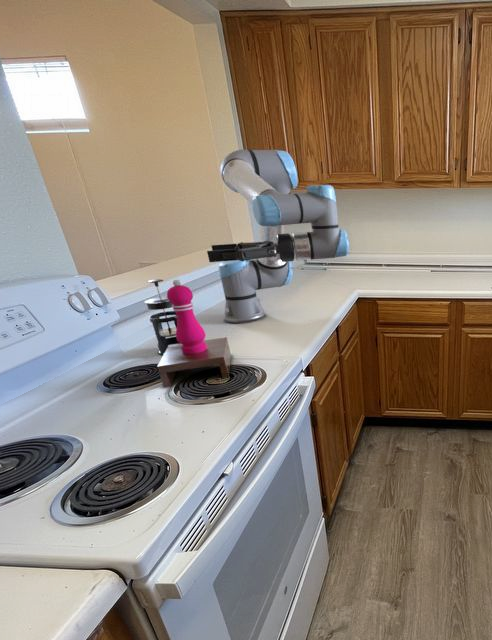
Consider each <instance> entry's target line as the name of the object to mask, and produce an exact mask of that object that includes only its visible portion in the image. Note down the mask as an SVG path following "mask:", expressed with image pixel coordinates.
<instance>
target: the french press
mask: <svg viewBox="0 0 492 640" xmlns="http://www.w3.org/2000/svg"><path fill="white" fill-rule="evenodd" d="M162 282H164V279H160V278H156V279H151V280H148V281H147V283H148V284H153V285H154V286H155V288H156V290H157V293H158V297H153V298H149V299H146V300H144V304H146V306H147V309H148V310H149V311H150V310H153V311H156V310H157V311H158V310H162V311H160V312H157V313H154V314H152V315H149V318H148V319H149V321H150V323H151V324H152V327H153V330H154V334H155V337H156V340H157V342H156V343H157V347H158V350H159V351H158V353H159V355H161V356H163V355H164V353H165V351H166V349H167V347H168V345H173V344H181V343H179V342H178V341H177V338H176V329H177V314H176V312H175V311H174V310H171V311H170V310H169V311H166V309H171V308H173V307H172V305H173V303H171V302H170V301H169V300H168V297H167V295H166V296H161V293H160V292H161V291H160V288H159V283H162ZM167 316H168V317H167ZM169 316H170V317H169ZM161 317H163V318H161ZM170 322H174V325H175V327H170ZM162 323H163V324H164V323H166V324H167V328H164V327H163V324H162Z"/></svg>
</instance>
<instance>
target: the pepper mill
mask: <svg viewBox="0 0 492 640" xmlns="http://www.w3.org/2000/svg"><path fill="white" fill-rule="evenodd" d="M172 285H173V286H171V287H169V289H168V290H167V292H166V296H167V297H168V300H169V301H170V302H171V303H173V305H172V307H171V308H172V311H175V312H176V314H177V329H176V336H175V337H176V338H177V341H178V342H179V343H181V344H182V346H181V349H182V352H183V353H184V354H197V353H201V352H203V351H205V350H206V349H207V346H206V343H205V342H203V340H206V332H205V330H204V327H203V326H202V325H201V324H200V322H199V321H198V320H197V318H196V316H195V313H194V307H195V306H194V305H193V304H194V303H193V302H192V300H193V298H194V293H193V292H192V290H191V288H189V287H188V286H186V285H182V282H181V281H180V280H179V279H174V280H173V281H172Z"/></svg>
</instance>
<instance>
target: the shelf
mask: <svg viewBox="0 0 492 640" xmlns="http://www.w3.org/2000/svg"><path fill="white" fill-rule="evenodd" d="M203 342H205V343H206V346H207V349H206V350H205V351H203V352H201V353H197V354H184V353H183V352H182V349H181V346H182V344H173V345H168V347H167V349H166V351H165V353H164V355H162V357H161V359H160V360H159V362H158V364H157V366H156V368H157V371H158V374H159V377H160V380H161V382H162V387H163V388H168V387H171V386H172V383H173V381H174V378H175V376H176V373H177V372H179V371H185V370H193V369H199V368H205V367H211V366H212V367H213V366H217V365H218V366H219V369H220V374H221V378H222V379H225V378H229V376H230V368H231V359H232V353H231V349H230V345H229V341H228V337H220V338H219V337H218V338H211V339H204V340H203ZM228 366H229V368H228ZM227 373H228V374H227Z"/></svg>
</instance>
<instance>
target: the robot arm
mask: <svg viewBox="0 0 492 640" xmlns="http://www.w3.org/2000/svg"><path fill="white" fill-rule="evenodd" d="M219 170H220V176H221V180H222V181H223V183H224V184H225V185H226V187H228V189H230V190H231V191H233V192H234V193H238V194H240V195H241V196H242V197H243V198H244V199H245V200H246V201H247V202H249V204H250V205H252V206H251V207H252V212H253V216H254V218H255V221H256V223H257V224H258V225H259V231H260V232H259V233H260V234H259V235H260V237H259V238H260V241H255V242H254V241H253V242H252V241H251V242H249V241H248V242H243V241H241V242H238V243H226V244H225V243H224V244H211V245H210V247H211V250H207V251H206V253H207V257H208V262H209V263H219V265H218V271H219V278H220V281H221V286H222V291H223V294H224V298H225V306H224V314H223V315H224V317H223V318H224V320H225V322H226V323H230V324H244V323H251V322H256V321H259V320H261V319H263V318H265V317H266V312H265V309H264V308H263V306H262V304H261V302H260V300H259V299H258V296H257V291H260V290H265V289H266V290H267V289H273V288H280V287H284V286H287V285H289V284H290V283H291V282H292V280H293V273H294V271H293V264H292V262H294V261H297V262H299V261H303V263H307V262H308V260H309V261H311V260H322V259H323V260H325V259H335V258H342V257H347V255H348V254H349V251H350V242H349V237H348V233H347V231H346V230H345V229H340V227H339V220H338V219H339V218H338V207H337V206H338V205H337V203H338V202H337V197H336V193H335V192H336V191H335V188H334V187H333V186H332V185H330V184H318V185H317V184H316V185H315V184H314V185H307V186H306V192H300V193H291V189H292V190H294V189H296V188H297V187H298V184H299V183H298V181H299V179H298V171H297V167H296V165H295V162H294V159H293V157H292V156H291V155H290V153H289V152H288V151H286V150H278V149H237V150H234V151H232V152H230V153H229V154H227V155H226V156H225V157H224V158H223V160H222V162H221V164H220V169H219ZM300 224H310V225H311V230H312V231H302V232H301V231H300V232H292V233H291V234H290V233H287V232H286V233H285V230H286V229H285V228H286V227H285V226H289V225H300ZM220 262H221V263H220Z"/></svg>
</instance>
